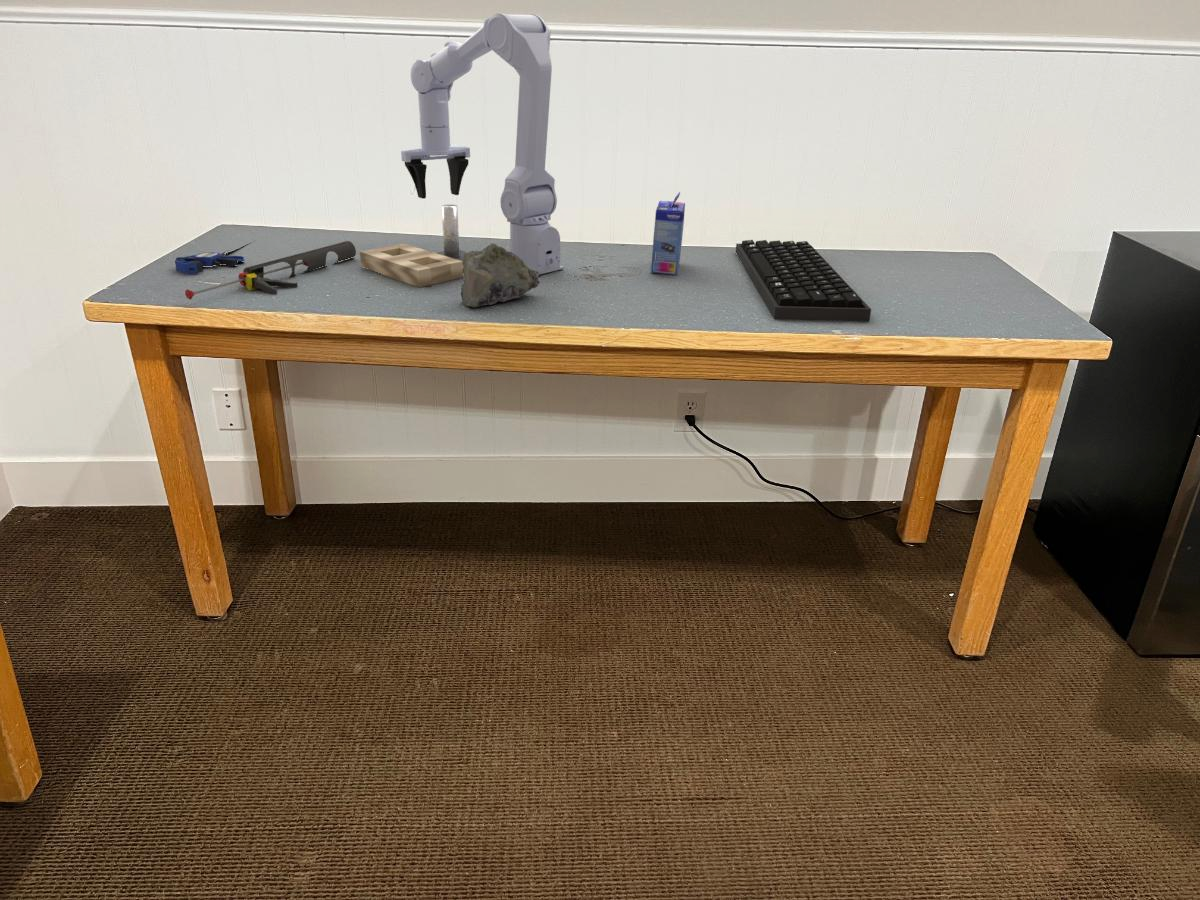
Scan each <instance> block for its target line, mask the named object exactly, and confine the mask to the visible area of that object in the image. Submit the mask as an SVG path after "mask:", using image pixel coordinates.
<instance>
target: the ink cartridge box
mask: <svg viewBox="0 0 1200 900" xmlns="http://www.w3.org/2000/svg"><path fill="white" fill-rule="evenodd" d="M680 196H681V191H679V192H678V193H677V195H676V196H675V197H674V199H673V201H670V200H659V202H658V203H657V206H656V209H655V217H654V226H653V227H654V228H653V230H654V231H653V240H652V252H651V262H650V263H651V265H650V273H654V274H661V275H662V274H665V275H673V276H677V275H678V273H679V268H680V264H679V263H680V260H681V254H682V253H681V252H682V245H683V244H682V243H683V235H684V224H685V222H684V221H685V211H686V210H685V208H686V203H685V202H681V201H680V202H679V201H677V200H678V199H679V197H680Z"/></svg>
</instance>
